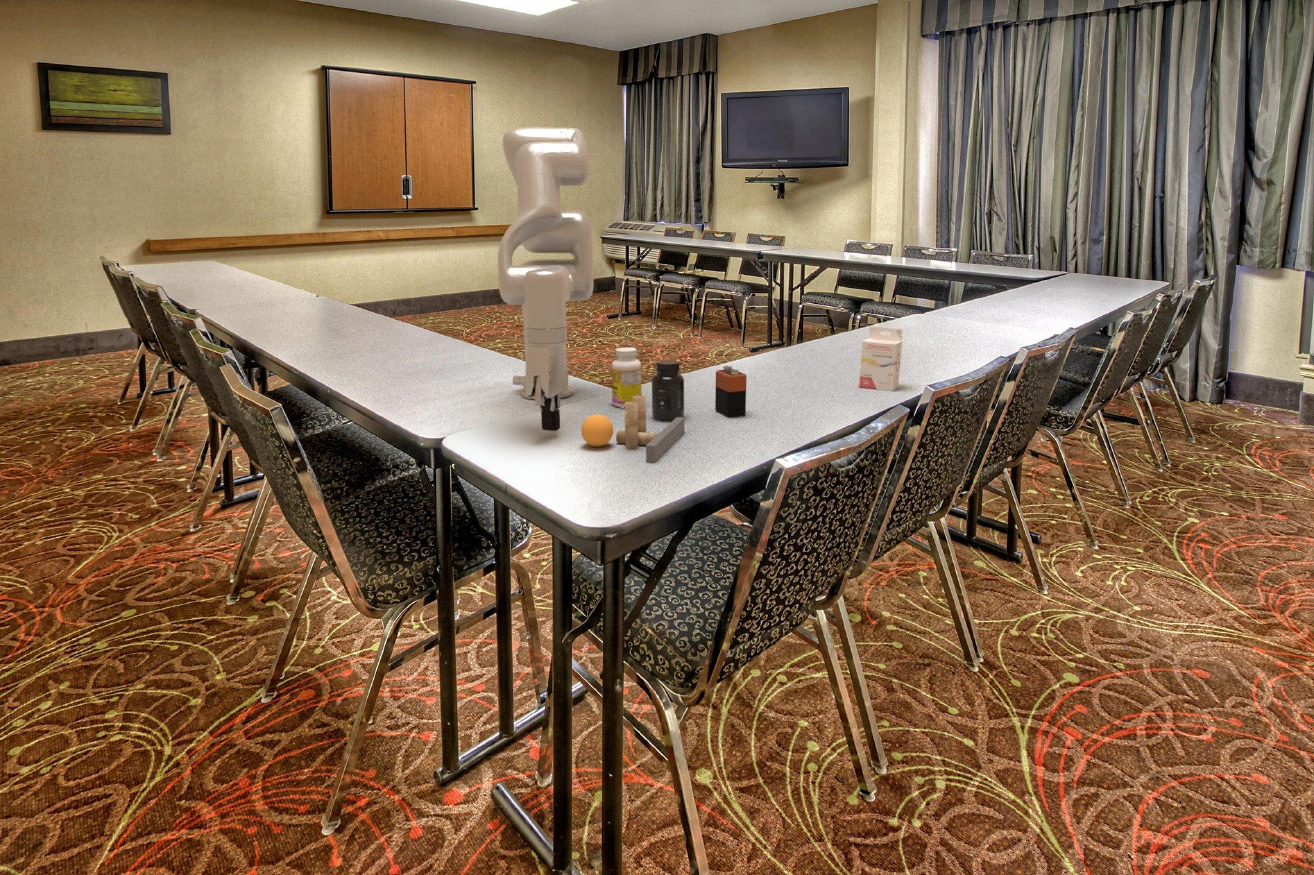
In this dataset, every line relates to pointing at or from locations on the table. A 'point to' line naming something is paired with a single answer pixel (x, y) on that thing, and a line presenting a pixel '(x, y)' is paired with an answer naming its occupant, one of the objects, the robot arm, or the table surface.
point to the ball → (597, 430)
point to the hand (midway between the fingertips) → (551, 429)
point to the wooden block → (642, 437)
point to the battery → (730, 392)
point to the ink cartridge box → (881, 359)
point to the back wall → (664, 440)
